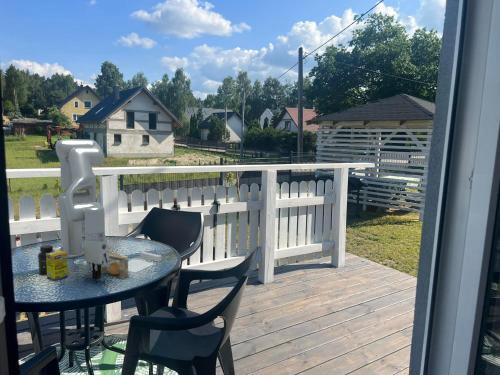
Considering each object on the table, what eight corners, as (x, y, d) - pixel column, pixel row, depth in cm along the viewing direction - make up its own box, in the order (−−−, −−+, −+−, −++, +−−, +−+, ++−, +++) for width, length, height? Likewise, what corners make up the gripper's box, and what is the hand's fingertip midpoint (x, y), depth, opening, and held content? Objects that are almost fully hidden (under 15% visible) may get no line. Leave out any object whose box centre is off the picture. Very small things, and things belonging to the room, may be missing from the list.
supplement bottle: (35, 275, 161) (33, 248, 159) (45, 269, 168) (43, 243, 166) (50, 276, 161) (49, 249, 159) (59, 270, 167) (58, 244, 166)
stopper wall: (159, 261, 182) (159, 256, 181) (140, 257, 187) (140, 252, 187) (161, 260, 184) (161, 255, 183) (143, 256, 189) (143, 251, 188)
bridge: (123, 279, 160) (122, 258, 158) (99, 272, 166) (98, 252, 165) (128, 276, 162) (128, 256, 161) (104, 270, 169) (103, 250, 167)
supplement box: (54, 281, 155) (53, 256, 154) (46, 278, 158) (45, 253, 157) (68, 277, 160) (67, 252, 159) (60, 273, 163) (59, 249, 162)
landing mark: (135, 272, 167) (135, 272, 167) (114, 267, 173) (114, 267, 173) (155, 264, 178) (155, 263, 178) (134, 259, 184) (134, 259, 184)
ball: (122, 269, 168) (116, 278, 164) (111, 263, 168) (105, 273, 164) (125, 263, 165) (119, 273, 161) (114, 257, 164) (107, 267, 160)
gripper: (115, 236, 153) (116, 279, 156) (90, 231, 160) (91, 272, 162) (100, 240, 147) (102, 285, 149) (74, 235, 153) (76, 277, 156)
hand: (96, 278), depth 156 cm, fingers closed
